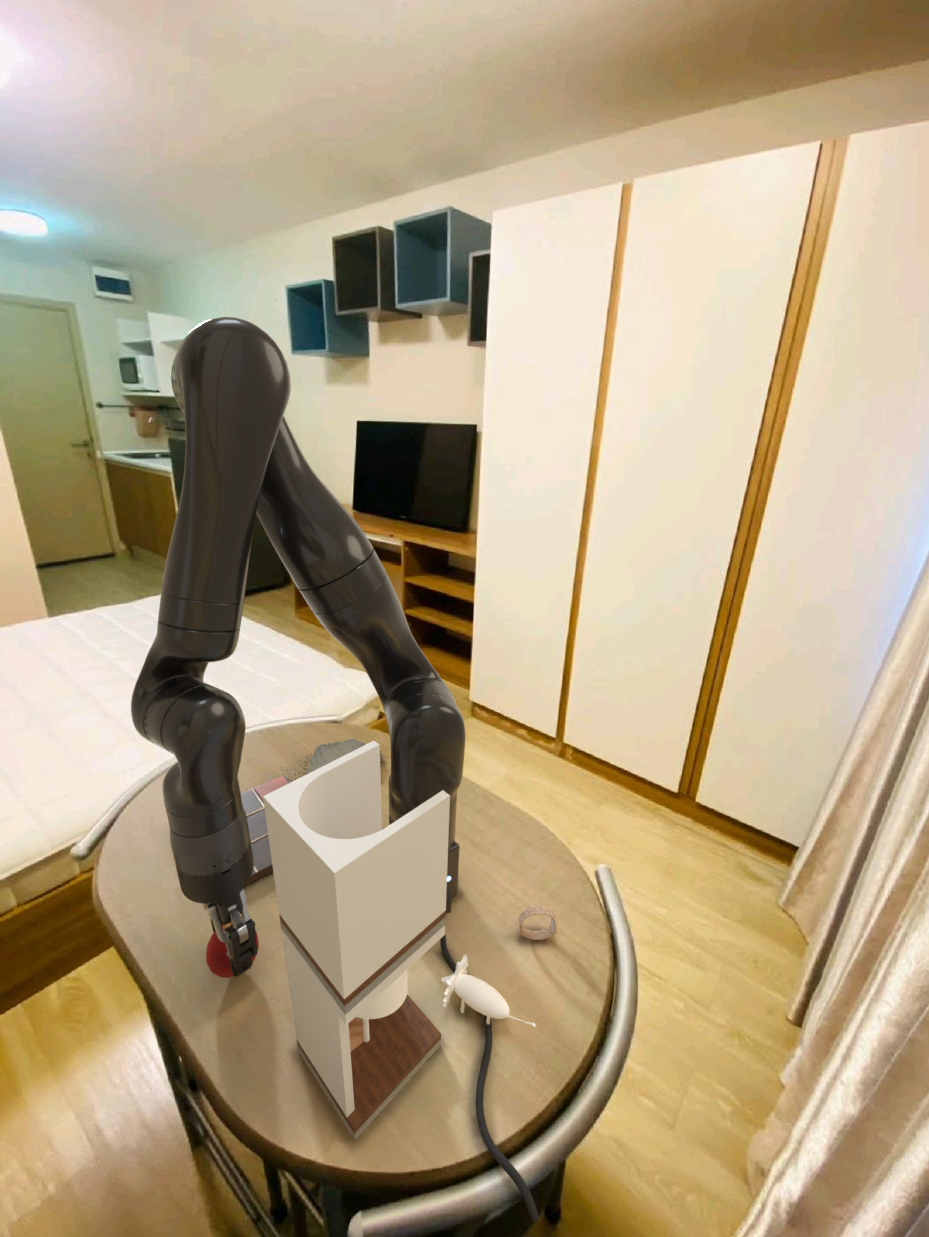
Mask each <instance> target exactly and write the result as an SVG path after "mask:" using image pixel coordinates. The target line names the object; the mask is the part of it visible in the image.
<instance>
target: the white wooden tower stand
mask: <svg viewBox="0 0 929 1237" xmlns="http://www.w3.org/2000/svg"><path fill="white" fill-rule="evenodd" d="M380 748H381V746H380V743H378V741H377V742H376V741H375V740H372V741H370V742H368V743H366V745H364V746H362V747H360V748H358V749H356V750H354V751H352V752H350V753H348V754H346V755H344V756H342V757H340V758H338V759H336V760H334V761H332V762H330V763H328V764H326V765H324V766H322V767H321V768H319V769H317V770H315V771H313V772H311V773H309V774H307V775H306V774H305V775H303V776H301V777H299V778H296V779H295V780H293V781H290V783H289V784H287V785H285V786H283V787H281V788H279V789H277V790H275V791H273V792H271V793H269V794H267V795H265V796H263V800H264V807H265V814H266V822H267V829H268V836H269V844H270V851H271V858H272V865H273V872H272V873H273V879H274V886H275V895H276V902H277V909H278V916H279V922H280V929H281V931H280V932H281V938H282V945H283V951H284V952H283V953H284V959H285V966H286V973H287V981H288V988H289V996H290V1002H291V1010H292V1011H291V1012H292V1019H293V1024H294V1031H295V1039H296V1047H297V1051H298V1053H299V1054H300V1056H301V1057H302V1059H303V1060H304V1063H305V1064H306V1065H307V1067H308V1069H309V1071H310V1072H311V1073H312V1075H313V1077H314V1078H315V1080H316V1081H317V1083H318V1084H319V1086H320V1088H321V1089H322V1091H323V1092H324V1094H325V1096H326V1097H327V1098H328V1100H329V1102H330V1104H331V1105H332V1107H333V1108H334V1109H335V1111H336V1113H337V1114H338V1116H339V1118H340V1120H341V1121H342V1122H343V1124H344V1126H345V1128H346V1129H347V1130H348V1132H349V1133H350V1135H351V1137H352V1138H353V1140H354V1141H357V1139H358V1138H359V1137H360V1135H362V1134H363V1132H364V1131H365V1130H366V1129H367V1128H368V1127H369V1126H370V1124H371V1123H372V1122H373V1121H374V1120H375V1119H376V1118H377V1117H378V1116H379V1115H380V1113H381V1112H382V1111H383V1110H384V1109H385V1108H386V1107H387V1106H388V1105H389V1103H391V1101H393V1100H394V1098H395V1097H396V1096H397V1095H398V1093H400V1091H401V1090H402V1089H403V1088H404V1087H405V1086H406V1084H407V1083H409V1081H410V1080H412V1078H413V1077H414V1075H416V1074H417V1072H418V1071H419V1070H420V1069H421V1068H422V1067H423V1066H424V1064H426V1062H427V1061H428V1060H429V1059H430V1058H431V1057H432V1055H434V1053H435V1052H436V1051H437V1050H438V1049H439V1048H440V1047H441V1046H442V1033H441V1032H440V1030H439V1029H438V1028H437V1027H436V1026H435V1024H434V1023H433V1022H432V1021H431V1020H430V1019H429V1017H427V1015H426V1014H425V1013H424V1012H423V1010H422V1009H421V1008H420V1007H419V1006H418V1005H417V1004H416V1002H414V1000H413V999H412V998H411V997H410V995H408V990H409V988H408V983H409V980H408V969H409V968H410V967H412V966H413V965H414V964H415V963H416V962H417V961H418V960H420V959H421V957H423V956H424V955H425V954H426V953H427V952H428V951H429V950H430V949H431V948H432V947H433V946H435V945H436V944H437V943H438V942H439V941H440V939H441V938H442V937H443V936H444V935H445V936H446V915H447V914H446V890H447V863H448V835H449V808H450V795H449V794H447V793H446V792H445V791H443V790H442V791H441V792H439V793H438V794H436V795H435V796H433V797H432V798H430V799H429V800H427V801H426V802H424V803H423V804H421V805H419V806H418V807H416V808H415V809H413V810H412V811H410V812H409V813H407V814H406V815H404V816H403V817H401V818H400V819H398V820H397V821H395V822H394V823H392V824H391V825H389V824H388V826H386V827H385V828H383V820H382V819H383V818H382V814H383V813H382V783H381V782H382V780H381V779H382V778H381V762H380V750H381V749H380Z"/></svg>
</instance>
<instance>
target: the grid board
mask: <svg viewBox="0 0 929 1237" xmlns="http://www.w3.org/2000/svg"><path fill="white" fill-rule="evenodd" d="M289 783H291V781H290V780H289V779H288V778H287V776H285V775H284V774H283V775H281V776H278V777H276V778H273V779H270V780H269V781H267V782H264V783H261V784H260V785H257V786H255V787H250V788H249V789H248V790H245V791H244V792H243V791H242V792H241V799H242V804H243V807H244V810H245V813H246V816H247V821H248V827H249V834H250V840H251V846H252V853H253V860H254V869H253V872H252V875H251V877H250V879H249V880H248V882H247V883H246V884H245V886H244V887H243V888H244V889H245V888H246V887H248V886H249V885H251V884H253V883H255V882H257V881H258V880H260V879H262V878H264V877H266V876H268V875H269V874H271V873H273V865H272V858H271V851H270V844H269V836H268V829H267V822H266V814H265V807H264V800H263V796H265V795H267V794H269V793H271V792H273V791H275V790H277V789H279V788H281V787H283V786H285V785H287V784H289Z"/></svg>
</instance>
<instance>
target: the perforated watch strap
mask: <svg viewBox="0 0 929 1237" xmlns="http://www.w3.org/2000/svg"><path fill="white" fill-rule="evenodd" d="M537 915H541V916H542V915H543V916H547V917H550V925H549V926H548V927H546V928H545V929H542V930H533V929H532V930H531V929H527V928H525V927H524V925H523V922H524V921H525V920H527V919H528V918H530V917H533V916H537ZM556 917H557V916H556V913H555V911H554V909H551V908H550V907H548V906H545V905H532V906H528V907H527V908H525V909H523V910H522V911H521V912H520V914H519V916H518V928H519V932H520V934H521V935H522V936H523V937H524V938H526V939H528V940H531V941H532V940H533V941H542V940H546V939H548V938H550V937H554V935H556V934H557V918H556Z"/></svg>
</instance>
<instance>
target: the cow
mask: <svg viewBox="0 0 929 1237" xmlns="http://www.w3.org/2000/svg"><path fill="white" fill-rule="evenodd" d="M468 961H469V958H468V955H467V954H466V953H464V954H463V956H462V959H461V961H457V963H456V970H455V973H454V972H453V973H451V974H449V975H446V976H444V977H443V978H441V980H440V983H441V984H442V985H444V986H445V987H446V989H445V991H444V993H443V995H444V998H443V1000H442V1002H444V1003H443V1004H442V1006H443V1007H445V1008H446V1007H447V1006H448V1004H449V1003H450V1000H451V996H452V994H453V993H454V992H455V993H456V995H457V997H458V998H460V999H461V1002H460V1009H459V1011H460V1013H461V1014H464V1013H465V1004H466V1005H467V1006H468V1007H470V1008H471V1009H473V1010H474V1011H476V1012H477V1013H479V1014H481V1015H482V1014H483V1015H485V1016H487V1020H486V1024H487V1025H489V1024H490V1019H495V1020H504V1019H506V1018H508V1019H511V1020H514V1021H518V1022H519V1023H523V1024H526V1025H529V1026H531V1028H536V1027H537V1024H536V1023H535V1022H529V1021H526V1020H523V1019H521V1018H517V1017H515V1016H512V1015H510V1013H511V1012H510V1011H511V1010H510V1006H509V1004H508V1002H507V1001H506V999H505V998H504V997H503V995H502V993H500V992H499V991H498V990H496V989H495V988H494V987H493V985H490V984H489V983H487V982H486V981H485V980H482V979H480V978H479V977H476V976H474V975H472V974H471V975H470V974H467V973H468V970H467V968H468V966H469V965H470V964H469V962H468ZM483 1015H482V1016H483Z"/></svg>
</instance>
